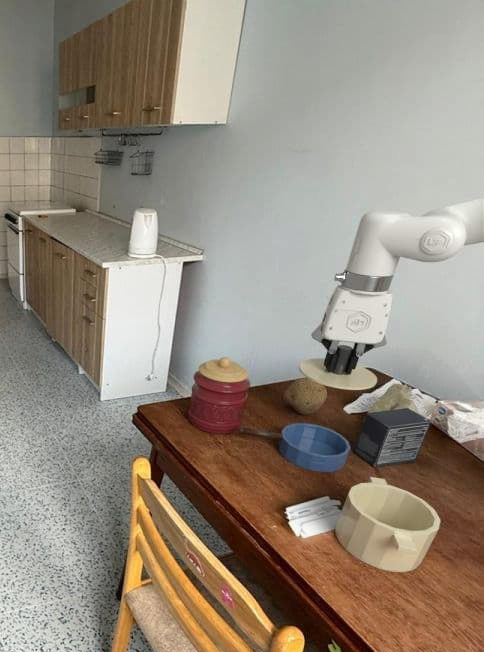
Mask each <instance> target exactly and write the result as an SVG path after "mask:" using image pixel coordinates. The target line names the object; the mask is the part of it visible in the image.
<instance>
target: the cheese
mask: <svg viewBox="0 0 484 652" xmlns="http://www.w3.org/2000/svg"><path fill="white" fill-rule="evenodd" d="M412 388H413V387H411V386H408V385H407V384H401V383H398V382H397V383H393V384H391V385H390V386H389V387H388V388H387V389H386V391H385V392H384V394H383V395H382V396H381V397H380V398H379V399H377V400H376V402H375V403H374V404H372V406H371V407H370V409H368V411H367V413H371V412H379V411H388V410H395V409H403V408H409V409H411V410H412V411H414V412H416V413H418V414H419V409H418V406H417V405H416V404H415V402H414V401H413V400H412V399H410V398H409V397H410V396H411V395H412V394H413V391H412V390H413V389H412ZM364 420H365V418H364V419H363V421H364Z"/></svg>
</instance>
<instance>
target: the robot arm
mask: <svg viewBox="0 0 484 652" xmlns="http://www.w3.org/2000/svg"><path fill="white" fill-rule="evenodd" d="M480 243H484V197H480V198H476V199H472V200H467V201H464V202H460V203H455V204H451V205H446V206H442V207H438V208H436V209H433V210H430V211H428V212H426V213H424V214H422V215H420V216H415V215H414V216H413V215H411V214H410V213H407V212H405V211H401V210H391V209H390V210H389V209H376V210H369V211H367V212H365V213H364V214H363V215H362V217H361V218H360V220H359V224H358V226H357V230H356V234H355V237H354V240H353V244H352V247H351V251H350V254H349V257H348V261H347V264H346V266H345V267H346V268H345V269H344V271H342V272H341V273H335V275H334V279H333V280H334V282H339V283H340V284H338V285H337V286H336V287H335V289H334V291H333V292H332V294H331V297H330V299H329V301H328V303H327V306H326V308H325V311H324V314H323V316H322V319H321V322H320V324H319V325H318V326H317V327H316V328H315V329H314V330H313V331H312V332H311V334H310V336H311V339H312V340H314V341H316V342H318V343H319V344H322V346H323V347H324V348H325V350H326V354H325V357H324V359H325V360H324V366H326V369H327V371H328V372H332V371H333V368H334V365H335V362H336V359H337V353H336V352H337V351H336V350H337V347H338V346H339V345H340V342H341V343H352V344H353V347H352V348H353V350H352V353H351V356H350V359H349V362H348V365H347V368H346V371H345V372H346V374H348V375H351V372H352V369H353V370H355V368H356V365H358V362H359V359H360V358H361V357H363V356H364V354H365V353H368V352H370V351H372V350H373V349H377V348H380V347H384V346H386V345H387V342H388V341H387V338H386V332H387V328H388V324H389V319H390V315H391V311H392V306H393V301H394V292H393V291H392V290H391V289H390V288H391V284H392V282H393V278H394V276H395V273H396V270H397V268H398V263H399V261H400V258H404V259H409V260H413V261H417V262H421V263H440V262H443V261H447V260H449V259H451V258H453V257H454V256H456V255H457V254H458V253H459V252H460V251H461V250H462V249H463V247H464V246H465V247H466V246H471V245H475V244H476V245H477V244H480Z"/></svg>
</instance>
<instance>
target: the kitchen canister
mask: <svg viewBox="0 0 484 652" xmlns="http://www.w3.org/2000/svg"><path fill="white" fill-rule="evenodd" d="M248 377H249V372H248V370H247V369H246V368H244V367H243V366H242V365H241V364H240V363H238V362H236V361H232V360H231V359H230V358H229V357H227V356H222V357H221V358H218V359H217V358H216V359H210V360H208V361H206V362H202V363H201V364H200V365H199V366H198V370H197V371H196V372H194V374H193V381H194V383H193V385H192V386H191V394H190V395H191V396H190V402H189V406H188V409H187V416H188V417H187V419H188V420H189V422H190V424H192V425H193V426H194V427H195V428H197V429H199V430H201V431H203V432H207V433H210V434H211V433H212V434H220V435H221V434H222V435H224V434H230V433H234V432H236V431H237V430H239V428H241V425H242V422H243V418H244V417H243V416H244V410H245V406H246V401H247V400H248V396H249V395H248V393H247V390H249V388H250V386H251V381H250V379H249V378H248Z"/></svg>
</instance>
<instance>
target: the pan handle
mask: <svg viewBox="0 0 484 652" xmlns="http://www.w3.org/2000/svg"><path fill="white" fill-rule="evenodd" d="M237 430H238V433H239V434H240V435H244V436H250V437H256V438H263V439H270V440H276V441H279V440H281V439H282V434H281V432H276V431H275V432H274V431H268V430H262V429H255V428H249V427H243V426H240V427H239V428H238V429H237Z"/></svg>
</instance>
